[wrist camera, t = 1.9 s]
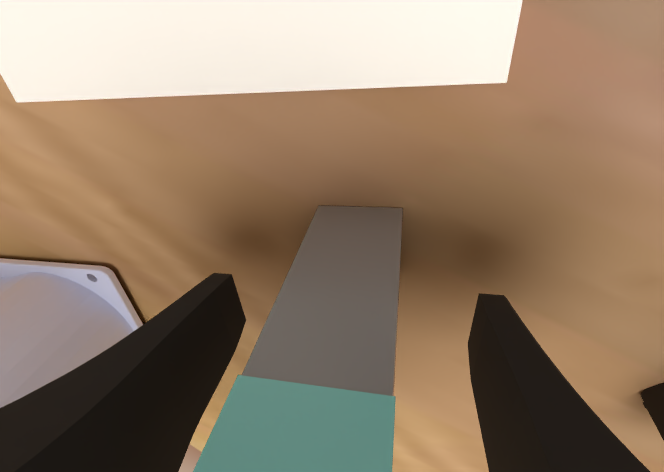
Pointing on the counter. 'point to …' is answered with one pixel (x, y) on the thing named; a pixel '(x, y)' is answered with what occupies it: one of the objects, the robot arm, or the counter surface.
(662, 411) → the ink cartridge
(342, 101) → the counter surface
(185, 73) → the paper sheet
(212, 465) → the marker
